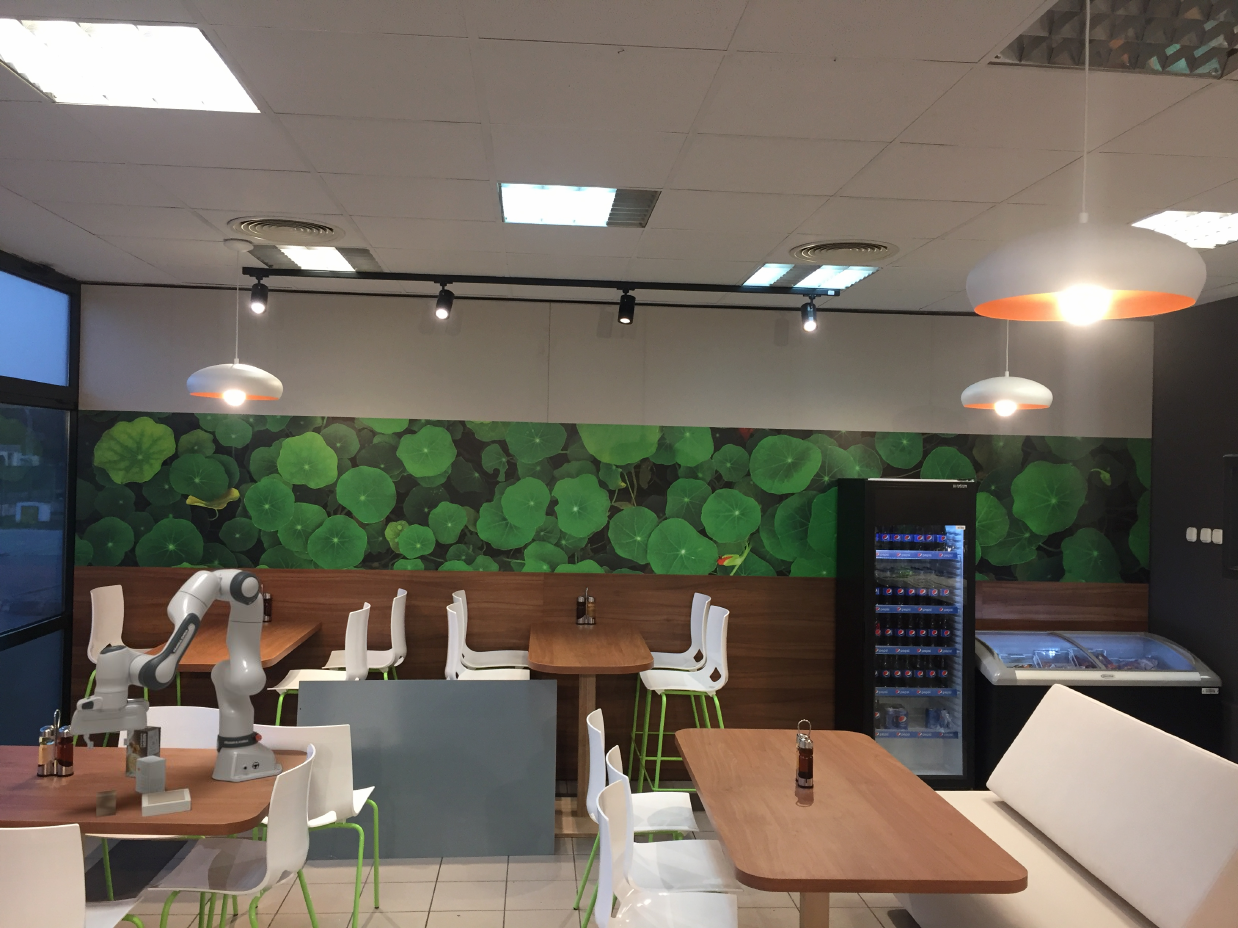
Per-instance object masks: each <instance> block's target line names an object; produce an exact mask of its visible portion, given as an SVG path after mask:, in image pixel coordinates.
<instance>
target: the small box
mask: <svg viewBox="0 0 1238 928" xmlns="http://www.w3.org/2000/svg"><path fill="white" fill-rule="evenodd" d="M166 763H167V761H166V758H164V757H161V756H160V757H157V756H148V757H144V758H139V759H137V762H136V777H135V792H136V793H139V794H141V795H142V794H148V793H156V792H164V791H166Z"/></svg>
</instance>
